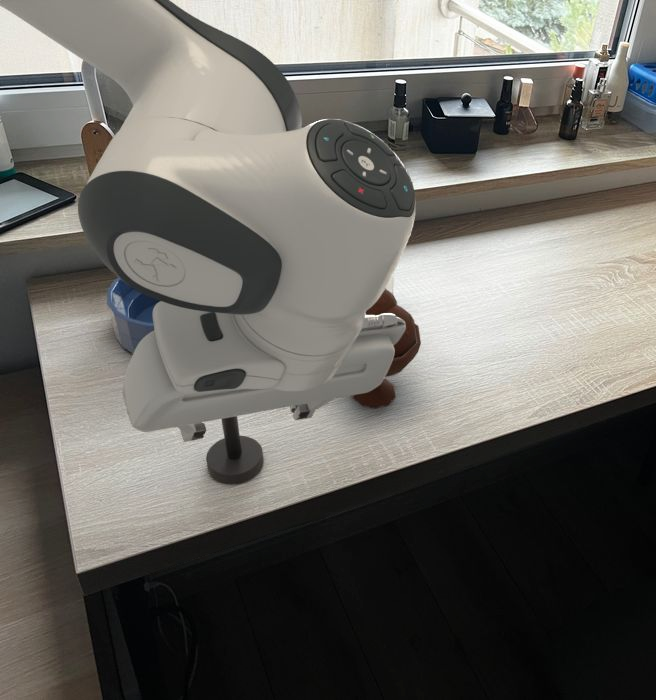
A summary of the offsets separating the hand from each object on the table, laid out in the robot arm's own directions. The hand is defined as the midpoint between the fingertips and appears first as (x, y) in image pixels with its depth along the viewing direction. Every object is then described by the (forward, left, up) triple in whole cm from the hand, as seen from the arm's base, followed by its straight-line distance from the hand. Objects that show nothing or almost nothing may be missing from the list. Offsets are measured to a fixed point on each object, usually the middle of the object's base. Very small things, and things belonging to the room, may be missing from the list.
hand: (247, 422), depth 61 cm
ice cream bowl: (+17, +20, -18) cm, 32 cm away
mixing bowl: (-5, +40, -18) cm, 45 cm away
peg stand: (-1, +13, -18) cm, 22 cm away
